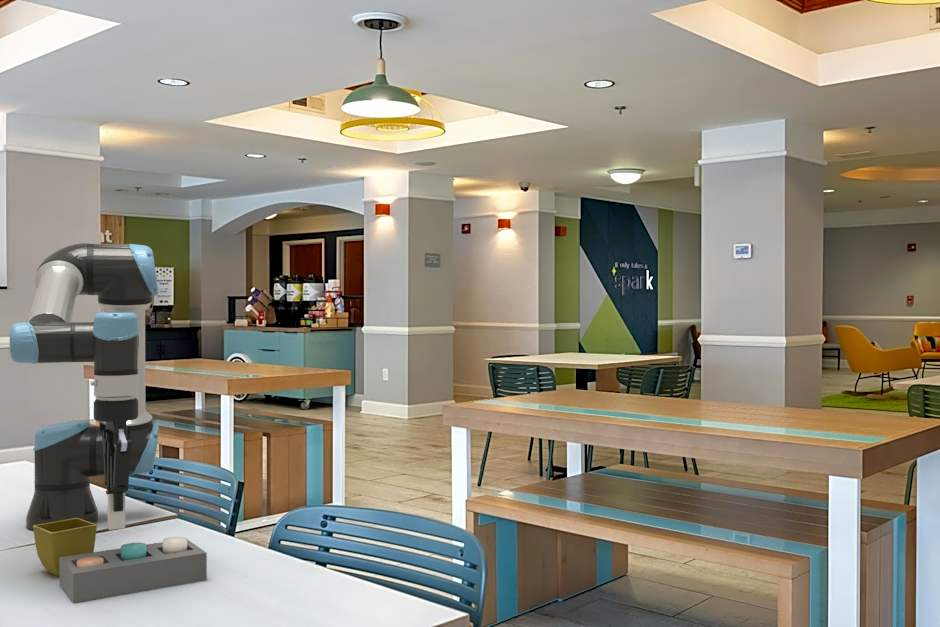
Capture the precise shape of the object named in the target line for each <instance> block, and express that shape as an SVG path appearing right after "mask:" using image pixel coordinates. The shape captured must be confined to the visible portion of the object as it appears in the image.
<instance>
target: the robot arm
mask: <svg viewBox="0 0 940 627" xmlns="http://www.w3.org/2000/svg"><path fill="white" fill-rule="evenodd" d="M154 258H155V257H154V251H153V250H152V248H151V247H150V246H147V245H145V244H134V243H87V242H86V243H85V242H84V243H83V242H82V243H75V244H72V245H71V244H70V245H67V246H65V247H62V248H60V249H58V250H56V251H54V252H53V253H52V254H50V255H48V256H47V257H46V258H45V259H44V260H43V261H42V262H41V263H40V265H39V266H38V268H37V270H36V273H35V276H34V284H35V288H36V291H35V295H34V299H33V302H32V306H31V309H30V313H29V316H28V319H27V321H23V322H16V323H13V324H12V325H11V327H10V331H9V354H10V358H11V359H12V361H13V362H15V363H17V364H19V363H20V364H33V365H34V364H35V365H36V364H48V363H49V364H51V363H52V364H56V363H93V378H94V380H90V386H93V396H94V397H95V398H96V399H95V400H94V401H93V419H94V421H97V422H98V423H99V425H95V426H94V425H91V422H90V420H88V419H75V420H74V419H73V420H68V421H62V422H57V423H53V424H52V423H51V424H48V425H45V426H43V427H41V428H39V429H38V430H36V432H35V434H34V447H33V451H34V492H33V496H32V499H31V501H30V505H29V509H28V510H27V513H26V517H25V518H26V519H25V525H26V526H25V527H26V529H27V530H30V531H31V530H32V531H33V525H39V524H45V523H50V522H56V521H62V520H67V519H73V518H80V519H83V520H85V521H88V522H91V523H94V524H96V523H98V521H99V510H98V506H97V505H96V501H95V499H94V496H93V493H92V491H91V487H90V486H91V485H90V484H91V483H90V480H91V479H90V478H91V477H104V485H105V487H106V490H105V495H107V529H108V530H109V531H112V530H121V529H125V528H126V491H127V492H128V491H129V481H130V480H129V478H130V476H134V475H138V474H139V475H140V474H147V473H149V472H151V471H152V469H153V468H154V466H155V460H156V455H157V447H158V438H159V428H160V426H159V424H158V423H156V422H153V415H152V414H151V413H150V412H148V410H147V409H146V310H147V309H148V308H149V307H150V306H151V305H152V304H153V297H156V296H158V295H159V287H158V278H157V277H158V276H157V273H156V272H157V271H156V265H155V259H154ZM85 295H86V296H97V303H98V305H100V307H101V308H102V309H103V310H104V311H105V312H98V313H96V314H95V315H94V317H93V322H90V321H89V322H85V321H83V322H82V321H81V322H75V321H73V322H72V319H73V314H74V309H75V308H74V307H75V302H76V298H77V297H78V296H85Z"/></svg>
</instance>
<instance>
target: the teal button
mask: <svg viewBox="0 0 940 627" xmlns="http://www.w3.org/2000/svg"><path fill="white" fill-rule="evenodd" d="M146 545H147V543H146V542H129V543H125V544H122V545H121V546H120V548H121V561H124V560H130V559H137V558H143V557H146Z"/></svg>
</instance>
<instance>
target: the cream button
mask: <svg viewBox="0 0 940 627" xmlns="http://www.w3.org/2000/svg"><path fill="white" fill-rule="evenodd" d="M187 539H188V538H187V537H186V536H170V537H169V536H168V537H167V538H164V539H162V542H163V554H169V553H175V552H182V551H187Z"/></svg>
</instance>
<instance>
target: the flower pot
mask: <svg viewBox="0 0 940 627" xmlns="http://www.w3.org/2000/svg"><path fill="white" fill-rule="evenodd" d="M97 527H98V524H96V523H91V522H88V521H85V520H83V519H80V518H73V519H67V520H62V521H56V522H50V523H45V524H39V525H33V530H32V531H33V536H34V537H33V539H34V542H35V550H36V553H37V557H38V558H39V560H40V563H41V565H42V566H43V568H44V570H46V571H47V572H48V573H50V574H53V575H54V576H57V577H59V557H65V556H72V555H79V554H85V553H92V552H94V550H95V543H96V537H97V536H96V535H97Z"/></svg>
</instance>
